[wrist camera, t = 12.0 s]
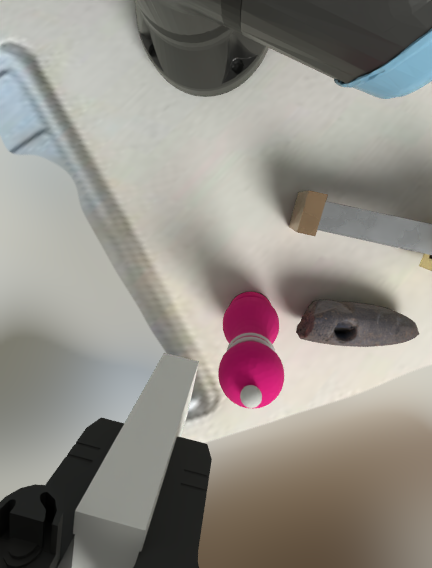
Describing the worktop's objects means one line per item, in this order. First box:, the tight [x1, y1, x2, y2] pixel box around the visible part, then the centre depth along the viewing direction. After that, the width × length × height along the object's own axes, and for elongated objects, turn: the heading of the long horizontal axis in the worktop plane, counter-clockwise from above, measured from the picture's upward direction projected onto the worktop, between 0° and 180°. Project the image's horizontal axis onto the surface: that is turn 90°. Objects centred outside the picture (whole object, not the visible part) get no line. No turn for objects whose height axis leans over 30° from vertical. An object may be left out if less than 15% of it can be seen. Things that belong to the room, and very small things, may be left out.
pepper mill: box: [219, 292, 284, 408], centre depth 33 cm, size 7×7×20 cm
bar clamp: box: [289, 191, 432, 255], centre depth 34 cm, size 30×4×7 cm, turn 78°
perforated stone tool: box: [296, 300, 419, 347], centre depth 38 cm, size 15×5×7 cm, turn 86°
